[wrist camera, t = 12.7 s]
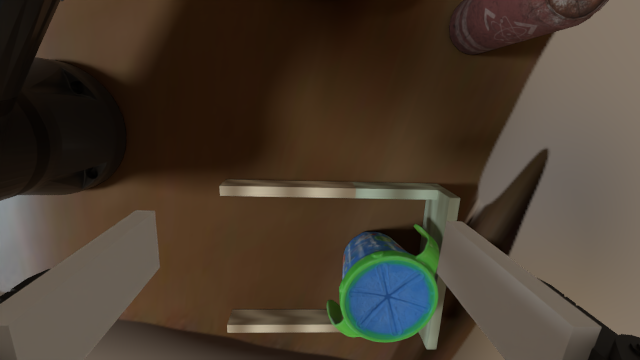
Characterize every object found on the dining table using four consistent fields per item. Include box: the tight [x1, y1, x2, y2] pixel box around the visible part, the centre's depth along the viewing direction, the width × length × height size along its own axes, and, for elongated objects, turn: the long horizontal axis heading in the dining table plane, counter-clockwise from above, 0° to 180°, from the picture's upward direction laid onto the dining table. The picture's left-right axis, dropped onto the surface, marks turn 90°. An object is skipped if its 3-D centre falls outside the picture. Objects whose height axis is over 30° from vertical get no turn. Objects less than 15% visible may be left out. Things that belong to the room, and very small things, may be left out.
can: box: [449, 0, 609, 55], centre depth 27 cm, size 6×6×14 cm
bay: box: [220, 179, 460, 349], centre depth 37 cm, size 27×20×6 cm
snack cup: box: [327, 224, 439, 342], centre depth 36 cm, size 16×10×10 cm
